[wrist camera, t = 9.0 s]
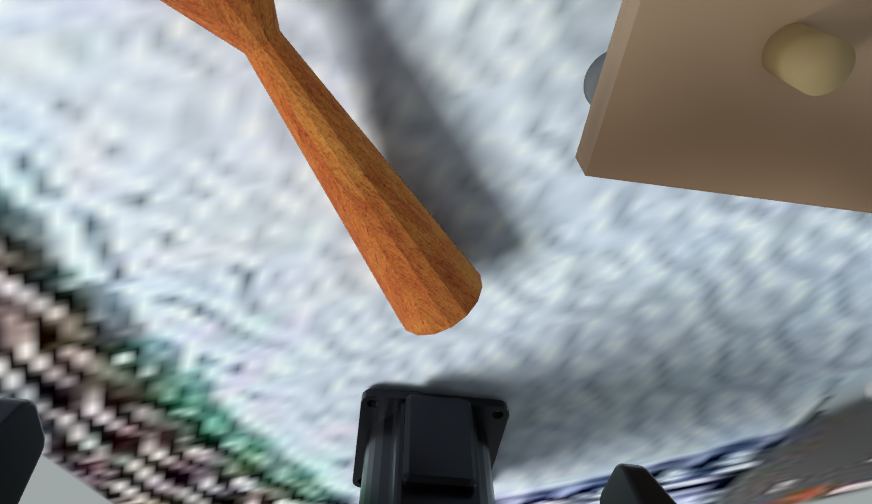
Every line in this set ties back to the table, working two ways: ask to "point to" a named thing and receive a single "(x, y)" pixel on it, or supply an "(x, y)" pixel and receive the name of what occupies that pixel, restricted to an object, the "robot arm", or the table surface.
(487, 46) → the table surface
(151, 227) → the table surface
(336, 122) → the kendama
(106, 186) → the table surface
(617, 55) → the peg board
